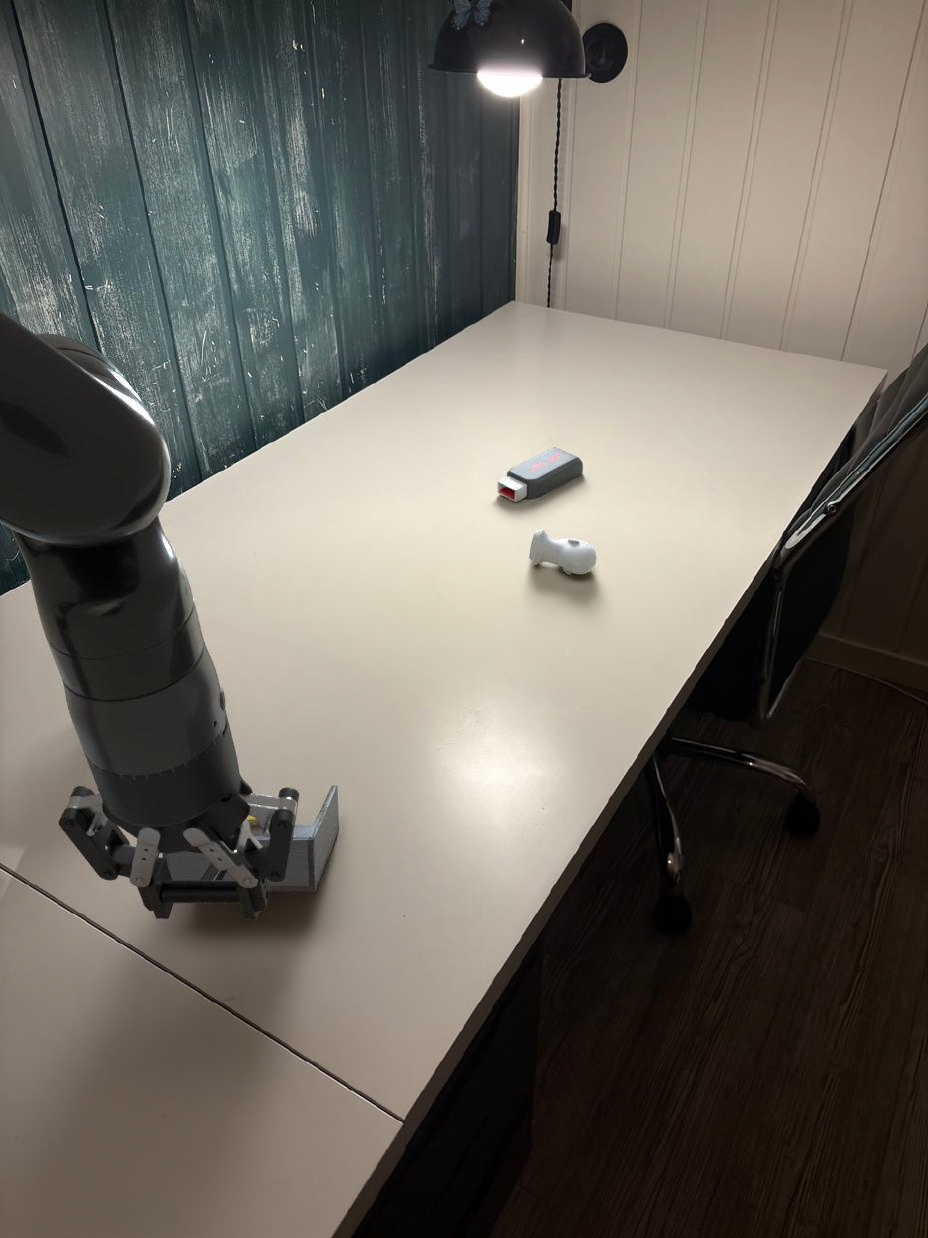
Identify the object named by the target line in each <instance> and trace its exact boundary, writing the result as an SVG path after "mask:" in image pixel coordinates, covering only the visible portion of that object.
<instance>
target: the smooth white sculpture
mask: <svg viewBox="0 0 928 1238" xmlns="http://www.w3.org/2000/svg"><path fill="white" fill-rule="evenodd" d="M528 559H529V560H530V561H531V562H532V563H533V565H534V566H537V565H538V564H540V563H543V562H544V563H545V562H546V563H550V564H554V565H557V566H560V567H562V571H563V572H564V573H565V574H567V575H572V574H574V575H575V574H576V575H586V574H588V573H590V572H591V571H592V570H593V569H594V567H595V565H596V563H597V552H596V550H595V548H594V547H593V546H592V545H591V544H590V543H588V542H586V541H583V540H580V539H577V538H571V537H570V538H561V539H554V538H552V537H550V536H549V535H548V534H547V532H546V530H545V528H544V529H540V530H535V531H534V533H533V536H532V539H531V543H530V547H529V555H528Z"/></svg>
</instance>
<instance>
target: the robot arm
mask: <svg viewBox="0 0 928 1238" xmlns="http://www.w3.org/2000/svg"><path fill="white" fill-rule="evenodd" d="M171 477H172V463H171V457H170V452H169V448H168V445H167V441H166V438H165V436H164V434H163V432H162V429H161V427H160V426H159V424H158V422H157V420H156V418H155V417H154V416H153V415H152V413H151V412H150V410H149V409H148V407H147V406H146V405H145V403H144V402H143V401H142V399H141V398H140V397H139V395H138V394H137V392H136V391H135V390H134V388H133V387H132V385H131V383H130V382H129V381H128V379H126V377H125V375H124V374H123V373H122V372H121V371H120V369H119V368H118V367H117V366H116V365H115V363H113V362H112V361H111V360H110V359H109V358H107V357H106V356H105V355H104V354H102V353H101V352H100V351H99V350H97V349H95V348H93V347H92V346H90V345H88V344H87V343H84V342H82V341H80V340H78V339H76V338H72V337H69V336H67V335H62V334H55V333H46V332H45V333H44V332H43V333H35V332H33V331H32V330H30V329H29V328H28V327H26V326H24V325H23V324H22V323H20V321H17V320H16V319H15V318H13V317H12V316H10V315H9V314H8V313H6V312H5V311H4V310H2V309H0V524H2V525H3V526H5V527H7V528H9V529H10V530H11V533H12V535H13V538H14V540H15V542H16V544H17V546H18V548H19V551H20V553H21V555H22V557H23V559H24V562H25V564H26V567H27V572H28V574H29V577H30V582H31V586H32V591H33V595H34V600H35V604H36V608H37V612H38V617H39V621H40V624H41V627H42V630H43V632H44V633H43V634H44V636H45V639H46V641H47V644H48V647H49V649H50V652H51V655H52V657H53V658H52V659H53V660H54V663H55V665H56V667H57V671H58V673H59V676H60V678H61V681H62V684H63V685H62V686H63V689H64V694H65V695H64V696H65V701H66V706H67V710H68V713H69V717H70V719H71V723H72V725H73V728H74V730H75V733H76V735H77V739H78V740H79V743H80V746H81V749H82V751H83V754H84V757H85V759H86V761H87V764H88V766H89V769H90V772H91V775H92V777H93V779H94V782H95V785H96V788H97V790H98V793H95V792H94V791H93V790H92V789H91V788H89V787H88V786H85V785H77V786H75V787H74V788H73V790H72V792H71V794H70V796H69V798H68V800H67V803H66V804H65V807H64V809H63V811H62V813H61V815H60V818H59V819H58V822H57V824H58V826H59V828H61V830H62V831H63V833H65V835H66V836H67V837H68V839H69V840H70V841H71V843H72V844H73V845H74V846H75V847H76V849H77V850H78V851H79V853H80V854H81V855H82V857H83V858H84V859H85V860H86V862H87V863H88V864H89V866H91V868H92V869H93V871H94V872H95V873H96V875H97V876H98V877H99V878H101V879H102V880H105V881H108V882H109V881H115V880H117V879H118V877H119V876H120V877H124V878H128V879H129V883H130V884H131V885H132V886H134V887H136V888H137V891H138V893H139V896H140V899H141V901H142V904H143V906H144V908H145V909H146V910H147V911H148V912H153V914H154V917H155V919H156V920H168V919H170V916H171V913H172V910H173V907H174V904H175V903H163V902H162V900H161V888H162V885H163V882H164V881H166V880H172V877H171V874H170V871H169V868H168V865H167V862H166V859H165V858H163V857H160V854H162V853H177V852H183V851H188V852H194V853H203V854H204V855H205V856H206V857H207V858H208V859H209V860H210V861H211V863H212V864H213V865H214V866H215V867H216V868H217V869H218V870H219V871H224V870H227V871H228V873H229V874H230V875H231V876H232V877H233V878H234V879H235V880H236V882H237V886H236V889H237V893H238V897H239V900H240V903H239V904H240V907H241V910H242V911H241V912H242V915H243V919H244V920H245V921H256V920H258V917H259V913H265V911H266V908H267V904H268V901H269V900H268V899H269V895H270V892H271V891H270V887H269V884H268V880H270V881H272V882H281V881H283V880H284V879H285V875H286V870H287V863H288V857H289V853H290V851H291V846H292V840H293V833H294V827H295V825H296V820H297V814H298V807H299V802H300V801H299V800H300V792H299V791H298V790H297V789H295V788H294V787H289V786H287V787H283V788H280V790H279V792H278V796H273V795H266V794H259V793H255V792H254V791H253V789H252V787H251V785H250V784H249V783H247V781H245V779H244V778H243V777H242V775H241V773H240V767H239V759H238V755H237V752H236V747H235V743H234V738H233V735H232V729H231V726H230V721H229V718H228V714H227V709H226V695H225V692H224V689H223V688H222V686H221V685H220V680H219V675H218V673H217V669H216V665H215V663H214V661H213V659H212V656H211V654H210V652H209V650H208V648H207V645H206V642H205V638H204V635H203V630H202V631H201V629H202V626H201V623H200V619H199V614H198V611H197V606H196V602H195V598H194V594H193V590H192V587H191V584H190V580H189V577H188V574H187V572H186V570H185V567H184V565H183V562H182V560H181V558H180V556H179V554H178V553H177V551H176V549H175V547H174V545H173V544H172V542H171V541H170V539H169V537H168V534H167V532H166V530H165V528H164V525H163V522H162V520H161V516H160V512H161V510H162V508H163V507H164V504H165V503H166V501H167V498H168V494H169V492H170V486H171V479H172V478H171ZM248 815H249V816H253V817H255V818H256V819H257V820H258V822H257V823H258V825H259V826H260V827H261V828H262V829H264V830H263V835H264V836H265V837H270V841H269V846H266V847H262V845H261V844H260V843H259V842H258V840H257V839H256V838H255V837H254V836H253V834H252V833H251V831H250V825H251V823H249V822H248V820H247V819H246V818H247V817H248ZM122 830H124V831H125V832H127V833H128V834H130V835H131V836H133V837H134V838H135V839H136V845H135V846H133V845H131V842H130V841H129V839H128V838H127V837H126V835H125V834H124V832H123V831H122Z"/></svg>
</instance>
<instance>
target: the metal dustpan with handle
mask: <svg viewBox="0 0 928 1238" xmlns="http://www.w3.org/2000/svg"><path fill="white" fill-rule="evenodd" d="M339 816H340V815H339V791H338V785H335V784H334V785H333V784H331V786H330V788H329V790H328V793H327V795H326V797H325V799H324V801H323V803H322V805H321V808H320V810H319V812H318V814H317V817H316V819H315V821H314V823H313V824H295V827H294V833H293V840H292V846H291V851H290V853H289V857H288V863H287V870H286V875H285V879H284V880H283V881H281V882H272V881H270V880H268V884H269V887H270V891H269V892H317V891H316V890H317V887H318V886H319V883H320V880H321V878H322V875H323V872H324V869H325V867H326V865H327V862H328V860H329V857H330V854H331V852H332V850H333V846H334V844H335V842H336V839H337V836H338V834H339V831H340V819H339V818H340V817H339ZM263 830H264V829H262V828H261V827H260V826H259V824H250V831H251V833H252V834H253V836H254V837H255V838H256V839H257V840H258V842H259V843H260V844H261V845H262V847H266V846H269V841H270V837H265V836H264V835H263ZM161 855H162V858H165V859H166V862H167V865H168V868H169V871H170V874H171V877H172V880H166V881H164V882H163V885H162V888H161V900H162V902H163V903H174V904H240V900H239V897H238V893H237V889H236V886H237V882H236V880H235V879H234V878H233V877H232V876H231V875H230V874H229V873H228V871H227V870H224V871H219V870H218V869H217V868H216V867H215V866H214V865H213V864H212V863H211V861H210V860H209V859H208V858H207V857H206V856H205V855H204V854H203V853H194V852H188V851H183V852H177V853H161Z"/></svg>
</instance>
